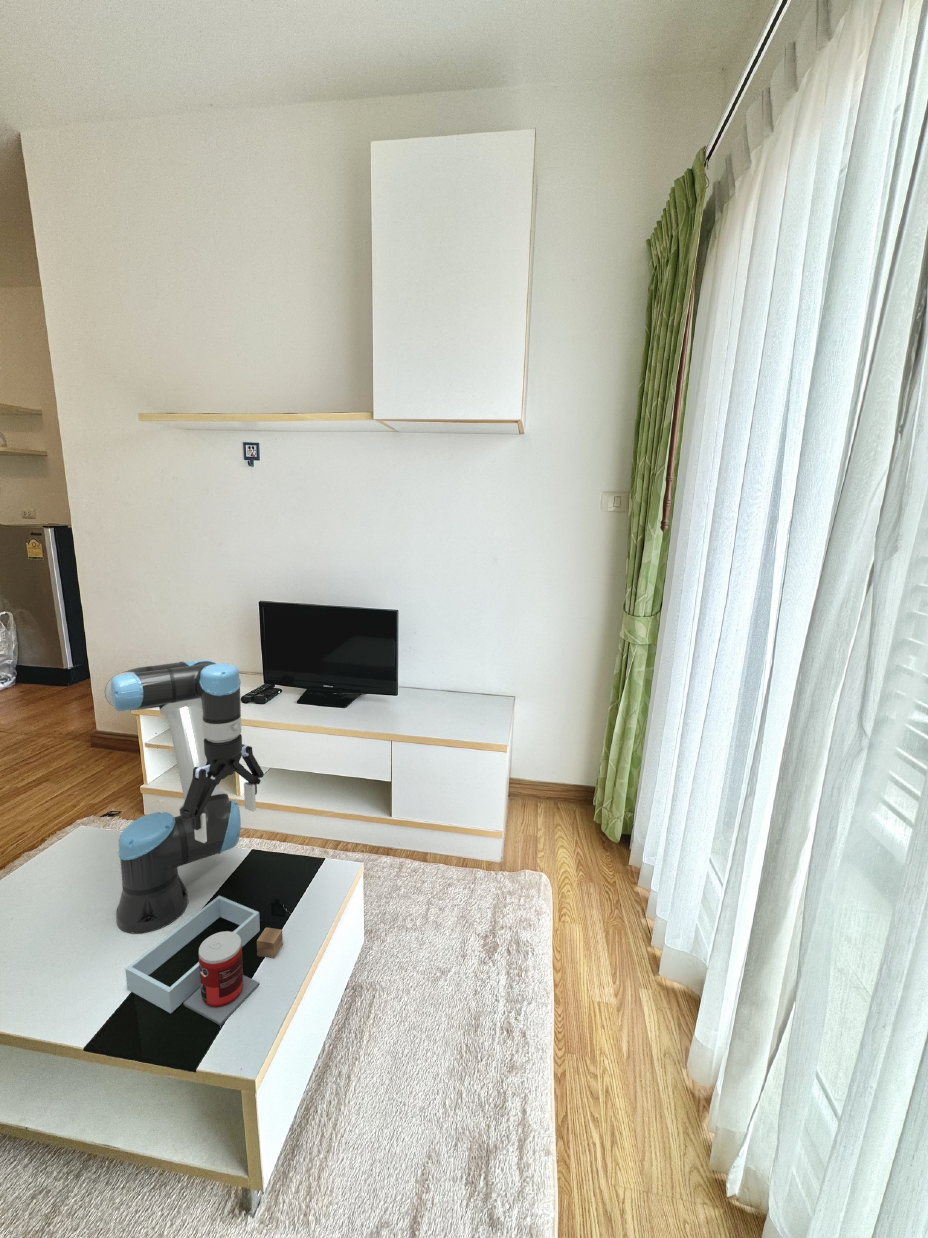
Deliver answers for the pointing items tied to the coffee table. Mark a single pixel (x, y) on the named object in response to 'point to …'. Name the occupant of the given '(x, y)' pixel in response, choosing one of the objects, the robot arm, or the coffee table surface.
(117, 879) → the coffee table surface
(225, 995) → the canned food
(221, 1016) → the pad
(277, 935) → the walnut block
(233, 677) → the robot arm
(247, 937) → the bin
